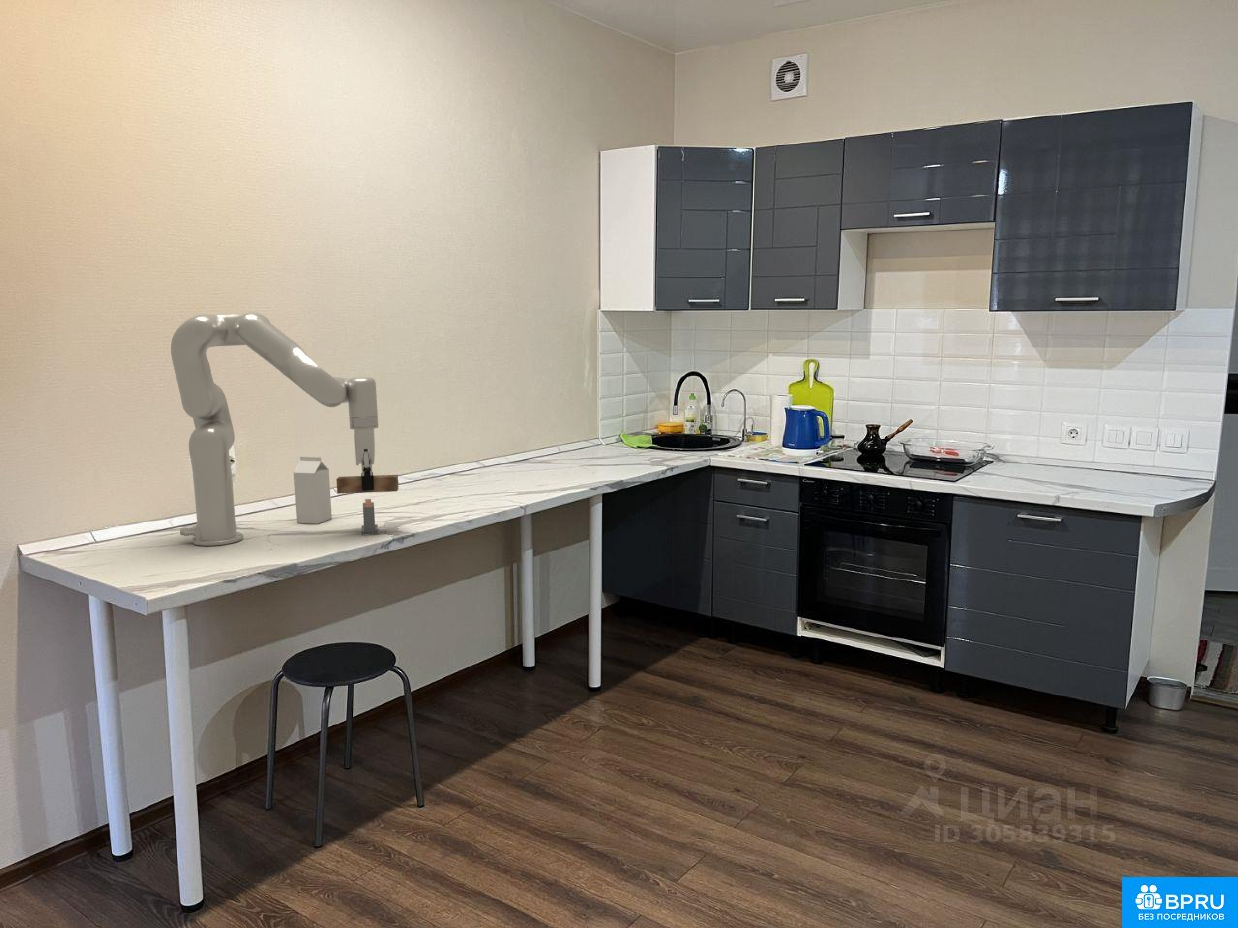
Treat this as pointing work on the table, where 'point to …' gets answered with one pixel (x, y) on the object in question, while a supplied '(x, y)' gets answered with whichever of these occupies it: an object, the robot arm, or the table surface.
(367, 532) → the ridge stand
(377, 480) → the walnut rod
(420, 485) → the table surface
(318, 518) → the milk carton
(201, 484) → the robot arm
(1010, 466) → the table surface
